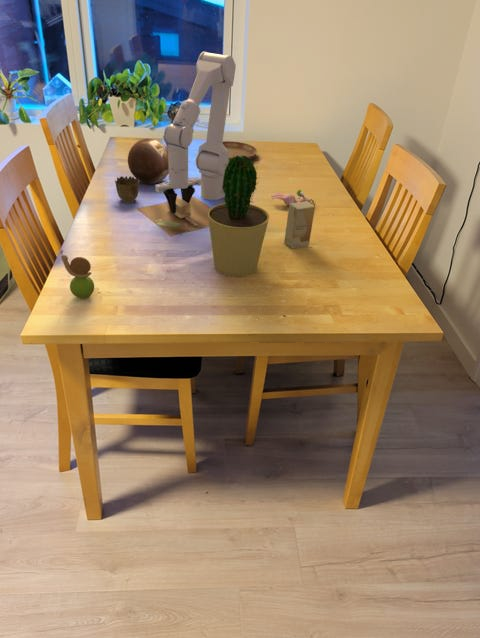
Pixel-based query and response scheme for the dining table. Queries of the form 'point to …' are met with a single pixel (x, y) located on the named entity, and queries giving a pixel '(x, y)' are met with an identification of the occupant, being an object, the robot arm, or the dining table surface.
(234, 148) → the plant saucer
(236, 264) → the potted cactus
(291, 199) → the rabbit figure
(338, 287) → the dining table surface
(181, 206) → the peg key
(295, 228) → the skincare box
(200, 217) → the brown flat square board
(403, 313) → the dining table surface
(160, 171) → the wooden sphere
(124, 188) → the cup
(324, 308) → the dining table surface
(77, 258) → the snail figurine
